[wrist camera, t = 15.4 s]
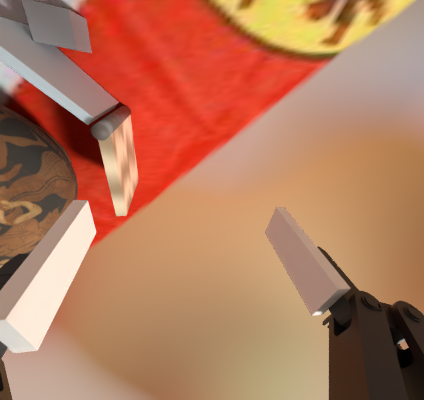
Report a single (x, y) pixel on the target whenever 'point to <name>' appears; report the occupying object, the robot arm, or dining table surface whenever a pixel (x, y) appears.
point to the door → (52, 72)
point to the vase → (30, 184)
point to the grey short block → (57, 26)
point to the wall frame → (118, 156)
